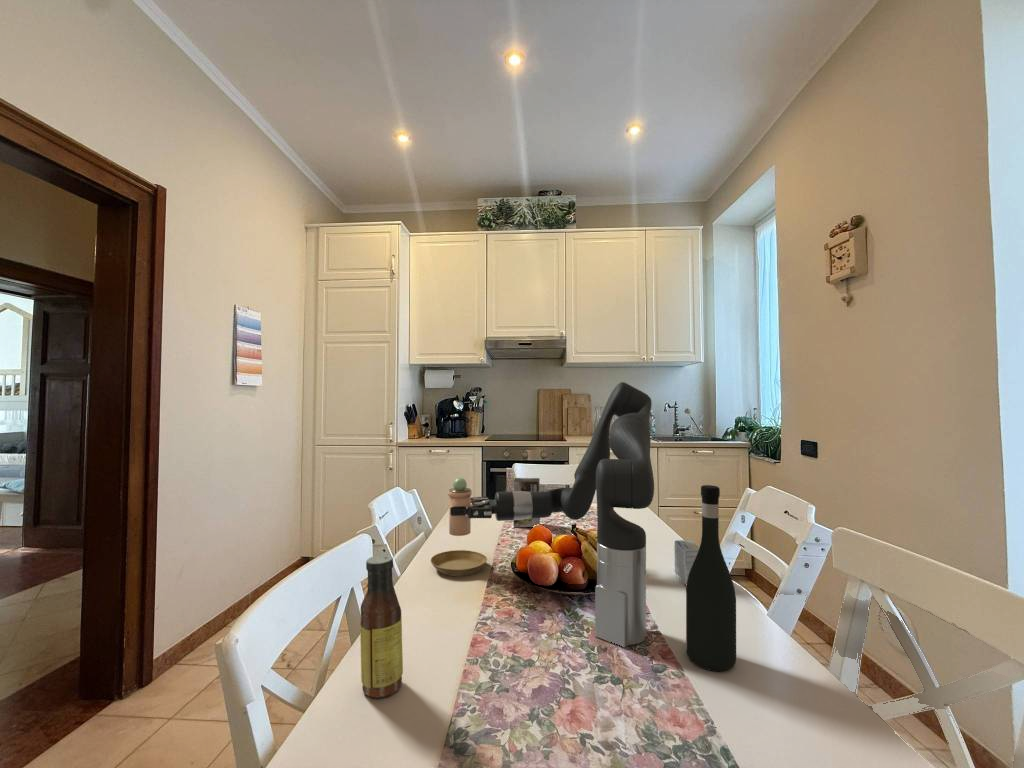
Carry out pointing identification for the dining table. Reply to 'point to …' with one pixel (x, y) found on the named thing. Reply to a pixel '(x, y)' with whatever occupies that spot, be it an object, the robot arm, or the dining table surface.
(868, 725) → the dining table surface
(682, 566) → the medicine box
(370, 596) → the sauce bottle
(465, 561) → the plant saucer
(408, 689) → the dining table surface
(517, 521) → the coffee box
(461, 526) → the pepper mill
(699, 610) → the wine bottle
